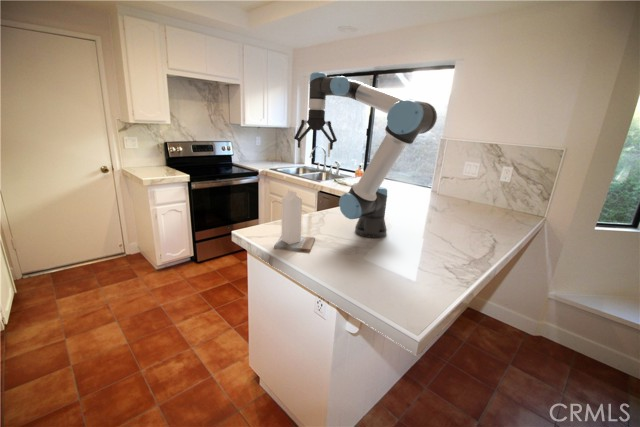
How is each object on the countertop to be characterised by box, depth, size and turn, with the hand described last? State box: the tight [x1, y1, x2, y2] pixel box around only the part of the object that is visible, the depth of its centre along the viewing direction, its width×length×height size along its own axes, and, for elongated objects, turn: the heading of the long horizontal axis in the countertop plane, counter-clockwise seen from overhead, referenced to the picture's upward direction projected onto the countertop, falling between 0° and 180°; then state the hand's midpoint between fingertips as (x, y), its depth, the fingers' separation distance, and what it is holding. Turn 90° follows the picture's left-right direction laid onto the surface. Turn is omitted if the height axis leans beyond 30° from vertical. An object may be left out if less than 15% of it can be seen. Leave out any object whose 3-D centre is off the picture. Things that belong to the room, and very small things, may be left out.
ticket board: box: [273, 235, 316, 253], centre depth 129 cm, size 15×13×1 cm
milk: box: [280, 189, 303, 244], centre depth 126 cm, size 6×6×22 cm
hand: (314, 155), depth 146 cm, fingers open, 13 cm apart
